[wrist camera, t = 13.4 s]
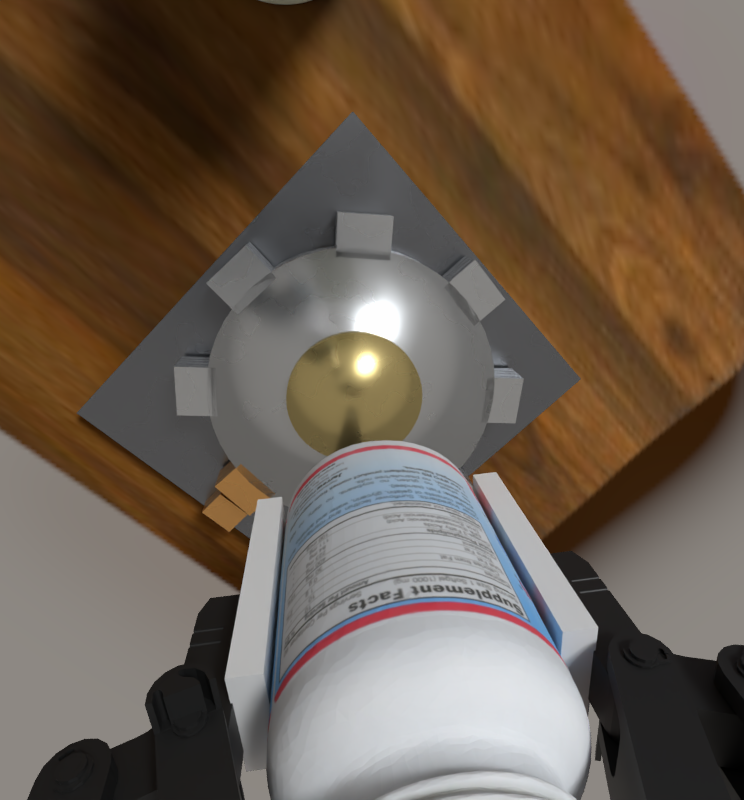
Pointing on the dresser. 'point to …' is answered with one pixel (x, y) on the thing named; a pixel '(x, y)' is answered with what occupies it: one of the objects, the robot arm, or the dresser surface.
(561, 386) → the base plate
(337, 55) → the dresser surface
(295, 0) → the pale green cylinder
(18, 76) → the dresser surface
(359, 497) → the pill bottle
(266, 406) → the sprocket
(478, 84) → the dresser surface
